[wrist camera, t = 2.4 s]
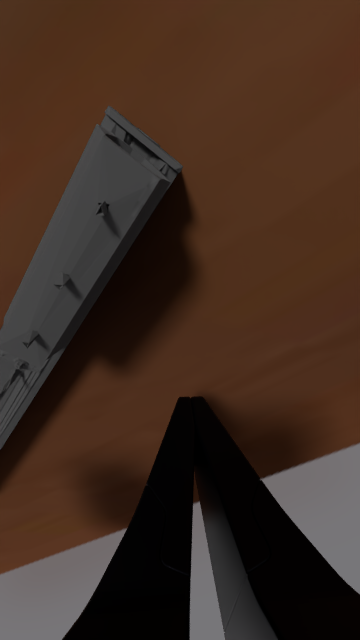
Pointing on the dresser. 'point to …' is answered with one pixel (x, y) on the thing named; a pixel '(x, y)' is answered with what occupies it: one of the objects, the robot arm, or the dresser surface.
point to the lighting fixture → (79, 255)
